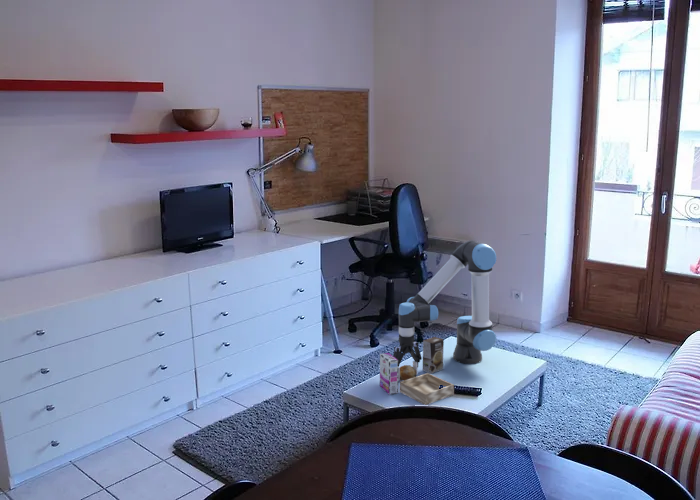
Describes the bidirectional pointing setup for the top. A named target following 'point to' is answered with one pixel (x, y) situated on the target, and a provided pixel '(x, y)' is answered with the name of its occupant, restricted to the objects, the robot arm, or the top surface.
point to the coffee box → (433, 354)
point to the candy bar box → (389, 373)
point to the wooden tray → (426, 388)
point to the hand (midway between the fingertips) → (406, 377)
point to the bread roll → (407, 372)
